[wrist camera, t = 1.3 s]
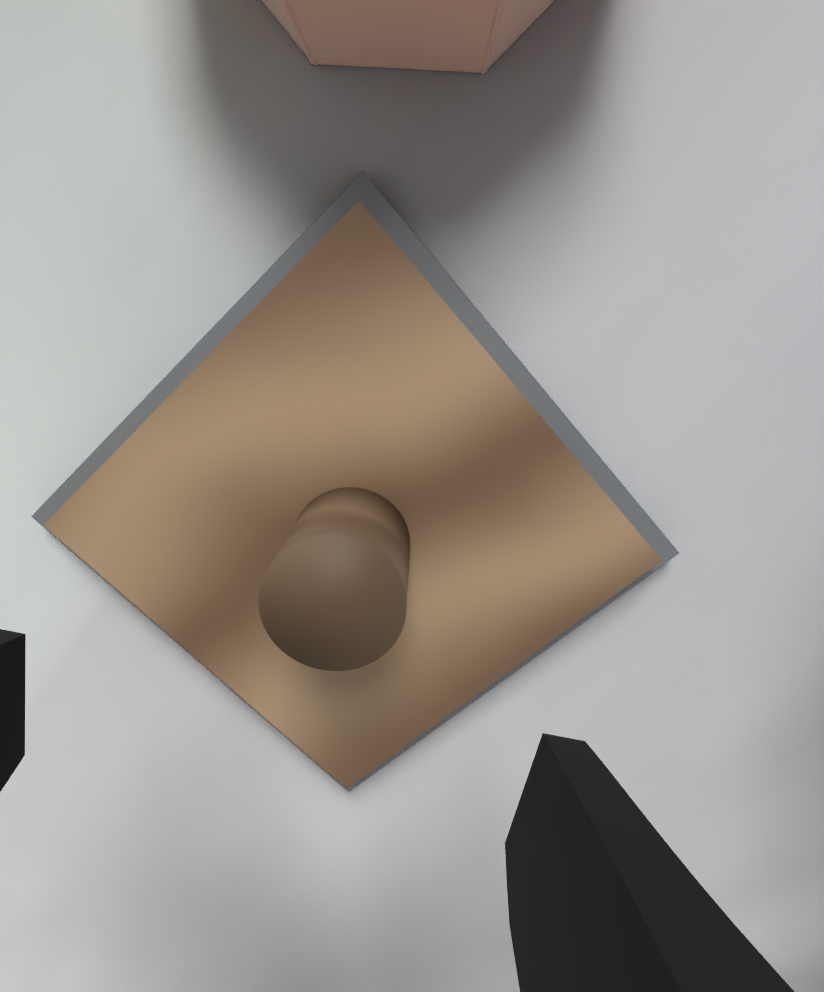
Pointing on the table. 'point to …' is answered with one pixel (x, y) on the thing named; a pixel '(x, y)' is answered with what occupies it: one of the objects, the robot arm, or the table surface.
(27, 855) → the table surface
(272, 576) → the lid
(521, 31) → the bowl
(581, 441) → the mat
